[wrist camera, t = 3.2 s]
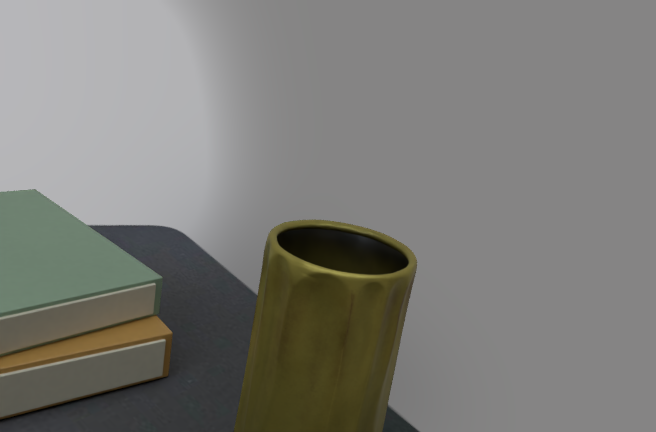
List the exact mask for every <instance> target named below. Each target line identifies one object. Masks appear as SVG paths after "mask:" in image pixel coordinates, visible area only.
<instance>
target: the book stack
mask: <svg viewBox="0 0 656 432" xmlns="http://www.w3.org/2000/svg"><path fill="white" fill-rule="evenodd" d="M162 279H163V278H162V277H161V276H160V275H158V274H157V273H155V272H154V271H153V270H151V269H150V268H148V267H147V266H145V265H144V264H142V263H141V262H140V261H138V260H137V259H135V258H134V257H132V256H131V255H129V254H128V253H126V252H125V251H124V250H122V249H121V248H119V247H118V246H116V245H115V244H113V243H112V242H111V241H109V240H108V239H106V238H105V237H103V236H102V235H100V234H99V233H98V232H96V231H95V230H93V229H92V228H90V227H89V226H87V225H86V224H84V223H83V222H81V221H80V220H78V219H77V218H76V217H74V216H73V215H71V214H70V213H68V212H67V211H66V210H64V209H63V208H61V207H60V206H58V205H57V204H56V203H54V202H52V201H51V200H50V199H48V198H47V197H45V196H44V195H42V194H41V193H40V192H38V191H37V190H35V189H34V190H20V191H7V192H0V420H1V419H5V418H9V417H13V416H16V415H20V414H24V413H28V412H32V411H36V410H40V409H43V408H47V407H51V406H55V405H59V404H63V403H66V402H70V401H74V400H78V399H82V398H86V397H90V396H93V395H97V394H101V393H105V392H109V391H113V390H117V389H120V388H124V387H128V386H132V385H136V384H140V383H144V382H147V381H151V380H155V379H159V378H163V377H167V376H168V372H169V363H170V353H171V344H172V332H171V331H170V329H169V328H168V327H167V326H166V325H165V324H164V323H163V322H162V321H161V320H160V319H159V318H158V317H157V316H156V315H157V314H159V310H160V300H161V289H162Z"/></svg>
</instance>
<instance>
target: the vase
mask: <svg viewBox="0 0 656 432" xmlns="http://www.w3.org/2000/svg"><path fill="white" fill-rule="evenodd" d="M416 268H417V260H416V257H415V255H414V253H413V252H412V251H411V250H410V249H409V248H408V247H407V246H405V245H404V244H402V243H401V242H399V241H397V240H395V239H393V238H392V237H389V236H387V235H385V234H382V233H380V232H377V231H374V230H371V229H368V228H364V227H360V226H356V225H351V224H346V223H341V222H334V221H326V220H299V221H290V222H285V223H282V224H280V225H278V226H276V227H274V228H273V229H272V230H271V231H270V233H269V235H268V238H267V241H266V246H265V250H264V257H263V265H262V272H261V278H260V284H259V291H258V296H257V303H256V310H255V315H254V321H253V327H252V333H251V340H250V347H249V353H248V359H247V364H246V370H245V375H244V381H243V386H242V392H241V397H240V402H239V408H238V413H237V418H236V423H235V428H234V432H382V430H383V425H384V420H385V415H386V410H387V405H388V400H389V395H390V390H391V385H392V380H393V375H394V370H395V365H396V360H397V355H398V350H399V345H400V339H401V335H402V329H403V325H404V321H405V316H406V312H407V306H408V303H409V298H410V294H411V290H412V285H413V281H414V277H415V273H416Z"/></svg>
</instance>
